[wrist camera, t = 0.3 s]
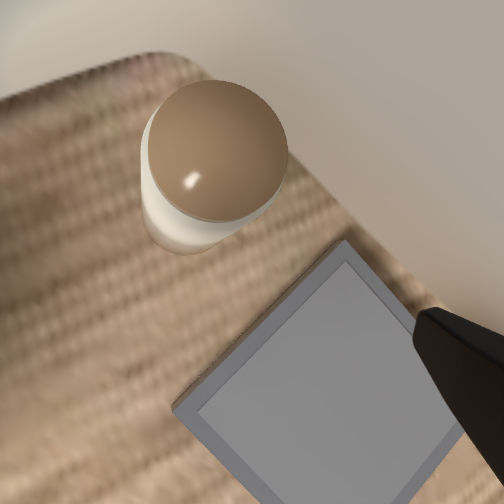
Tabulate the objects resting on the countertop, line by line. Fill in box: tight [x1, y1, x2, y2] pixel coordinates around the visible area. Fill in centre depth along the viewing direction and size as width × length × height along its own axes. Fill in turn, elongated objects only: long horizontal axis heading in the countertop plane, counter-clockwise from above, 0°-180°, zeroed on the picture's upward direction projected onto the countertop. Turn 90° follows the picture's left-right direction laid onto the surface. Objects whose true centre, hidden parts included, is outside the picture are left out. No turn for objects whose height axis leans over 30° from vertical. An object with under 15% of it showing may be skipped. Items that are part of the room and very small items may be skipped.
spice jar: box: [141, 80, 288, 255], centre depth 18 cm, size 4×4×10 cm
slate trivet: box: [171, 239, 465, 504], centre depth 23 cm, size 12×12×1 cm
